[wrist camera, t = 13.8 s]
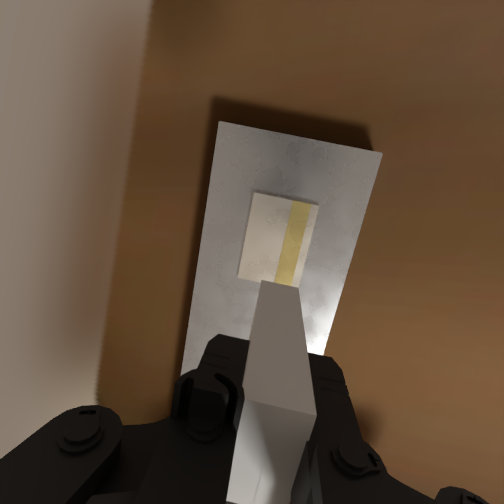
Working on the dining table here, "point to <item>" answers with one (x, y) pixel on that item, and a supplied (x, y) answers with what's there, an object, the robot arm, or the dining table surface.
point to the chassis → (276, 230)
